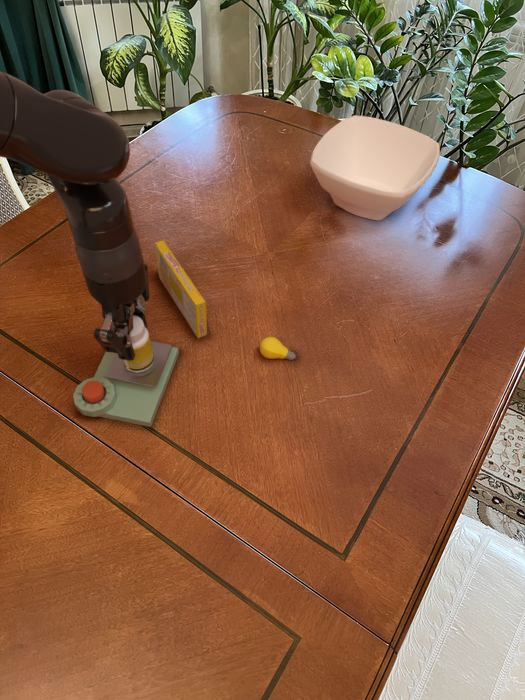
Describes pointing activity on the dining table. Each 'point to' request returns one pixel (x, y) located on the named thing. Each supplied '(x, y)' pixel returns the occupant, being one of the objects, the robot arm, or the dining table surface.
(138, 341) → the supplement bottle
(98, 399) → the power button
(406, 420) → the dining table surface
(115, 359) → the scale pan
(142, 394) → the scale
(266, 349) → the light bulb
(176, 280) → the candy box
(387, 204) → the bowl
